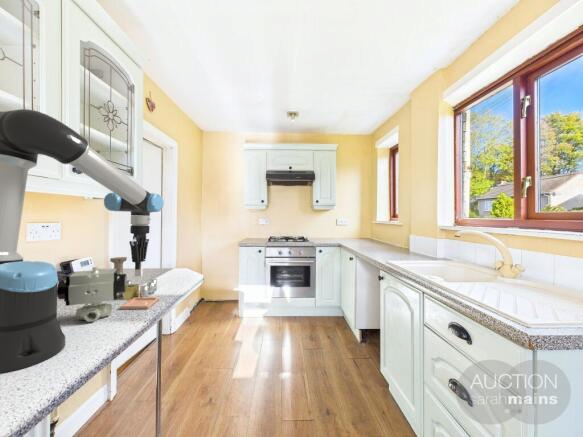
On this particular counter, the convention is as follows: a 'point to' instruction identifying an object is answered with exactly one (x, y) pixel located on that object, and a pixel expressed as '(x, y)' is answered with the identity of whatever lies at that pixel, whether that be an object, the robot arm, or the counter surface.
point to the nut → (131, 291)
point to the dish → (140, 303)
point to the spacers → (145, 288)
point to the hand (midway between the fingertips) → (138, 276)
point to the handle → (118, 262)
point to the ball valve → (92, 291)
